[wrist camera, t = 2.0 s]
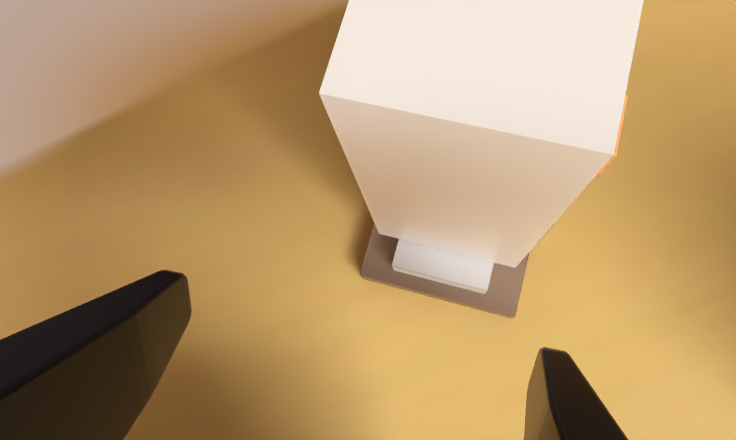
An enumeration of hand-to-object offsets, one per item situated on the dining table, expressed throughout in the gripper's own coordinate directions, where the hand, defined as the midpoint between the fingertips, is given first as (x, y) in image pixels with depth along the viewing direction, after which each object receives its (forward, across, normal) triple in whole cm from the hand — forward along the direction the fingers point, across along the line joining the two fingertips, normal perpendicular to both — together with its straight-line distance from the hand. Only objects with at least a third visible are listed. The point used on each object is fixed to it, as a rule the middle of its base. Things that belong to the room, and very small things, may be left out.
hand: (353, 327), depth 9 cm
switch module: (+11, -1, +3) cm, 12 cm away
